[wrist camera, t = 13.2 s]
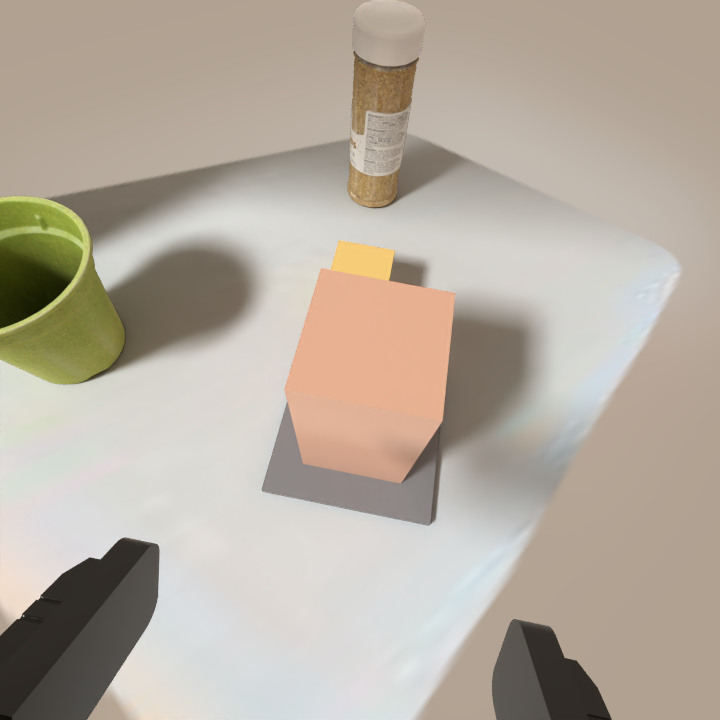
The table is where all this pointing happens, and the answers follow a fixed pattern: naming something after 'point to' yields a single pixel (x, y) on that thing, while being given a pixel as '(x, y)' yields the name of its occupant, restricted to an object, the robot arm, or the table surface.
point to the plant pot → (53, 294)
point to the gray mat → (352, 481)
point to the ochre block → (363, 260)
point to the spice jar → (381, 96)
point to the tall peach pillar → (370, 374)
